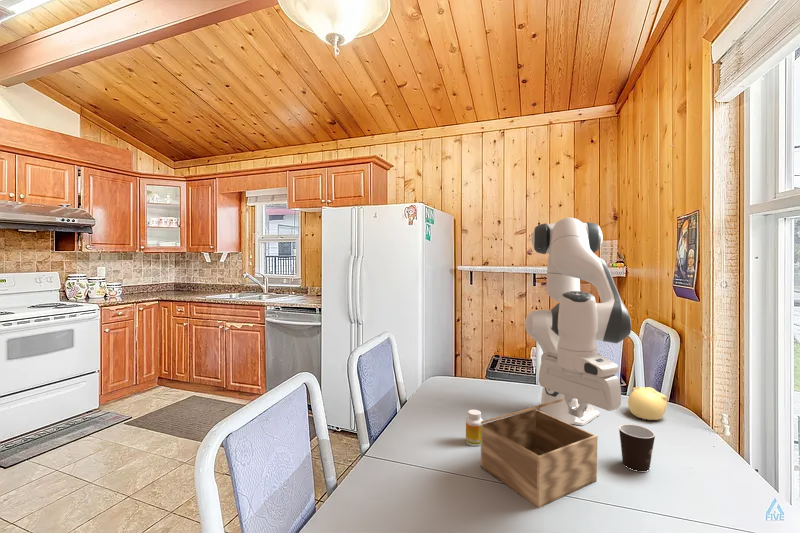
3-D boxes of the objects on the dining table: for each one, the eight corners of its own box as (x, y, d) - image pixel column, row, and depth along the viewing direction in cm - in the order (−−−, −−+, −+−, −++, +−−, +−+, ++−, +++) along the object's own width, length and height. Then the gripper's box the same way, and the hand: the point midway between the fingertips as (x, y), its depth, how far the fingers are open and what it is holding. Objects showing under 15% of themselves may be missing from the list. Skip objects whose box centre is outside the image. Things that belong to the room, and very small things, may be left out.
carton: (535, 448, 119) (536, 409, 119) (596, 481, 102) (597, 435, 101) (480, 467, 108) (481, 424, 108) (538, 508, 91) (539, 457, 90)
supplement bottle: (483, 447, 119) (483, 416, 119) (465, 445, 120) (465, 414, 120) (482, 439, 125) (483, 409, 124) (465, 437, 126) (466, 408, 125)
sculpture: (671, 418, 141) (671, 389, 141) (656, 426, 134) (656, 395, 134) (637, 408, 151) (638, 380, 150) (621, 415, 144) (622, 386, 143)
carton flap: (536, 408, 119) (535, 406, 119) (588, 394, 103) (587, 391, 104) (481, 424, 108) (480, 421, 108) (531, 410, 92) (530, 407, 93)
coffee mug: (642, 477, 103) (643, 440, 103) (611, 462, 111) (612, 427, 111) (667, 467, 109) (668, 431, 108) (636, 453, 116) (637, 420, 116)
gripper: (533, 351, 102) (532, 403, 102) (609, 372, 84) (607, 435, 84) (549, 348, 105) (549, 399, 105) (625, 367, 87) (624, 428, 87)
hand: (575, 415), depth 95 cm, fingers closed
